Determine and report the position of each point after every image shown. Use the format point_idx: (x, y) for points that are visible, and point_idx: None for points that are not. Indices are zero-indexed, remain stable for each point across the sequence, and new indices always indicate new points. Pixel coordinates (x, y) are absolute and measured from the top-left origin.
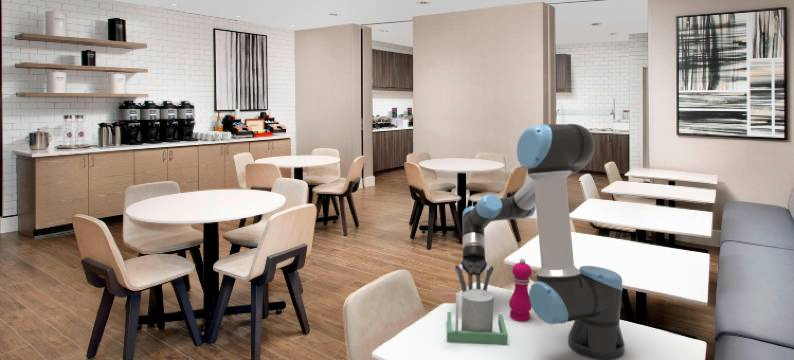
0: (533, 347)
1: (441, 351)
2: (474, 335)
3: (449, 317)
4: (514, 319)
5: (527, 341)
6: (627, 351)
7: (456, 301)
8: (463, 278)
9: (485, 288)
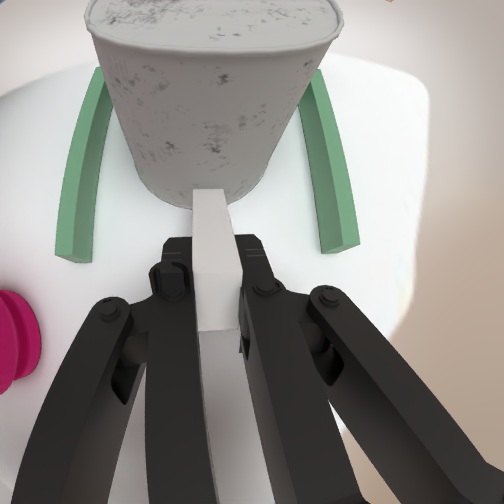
0: (38, 99)
1: None
2: None
3: (341, 179)
4: (26, 302)
5: (36, 126)
6: None
7: None
8: (408, 419)
9: (91, 339)
